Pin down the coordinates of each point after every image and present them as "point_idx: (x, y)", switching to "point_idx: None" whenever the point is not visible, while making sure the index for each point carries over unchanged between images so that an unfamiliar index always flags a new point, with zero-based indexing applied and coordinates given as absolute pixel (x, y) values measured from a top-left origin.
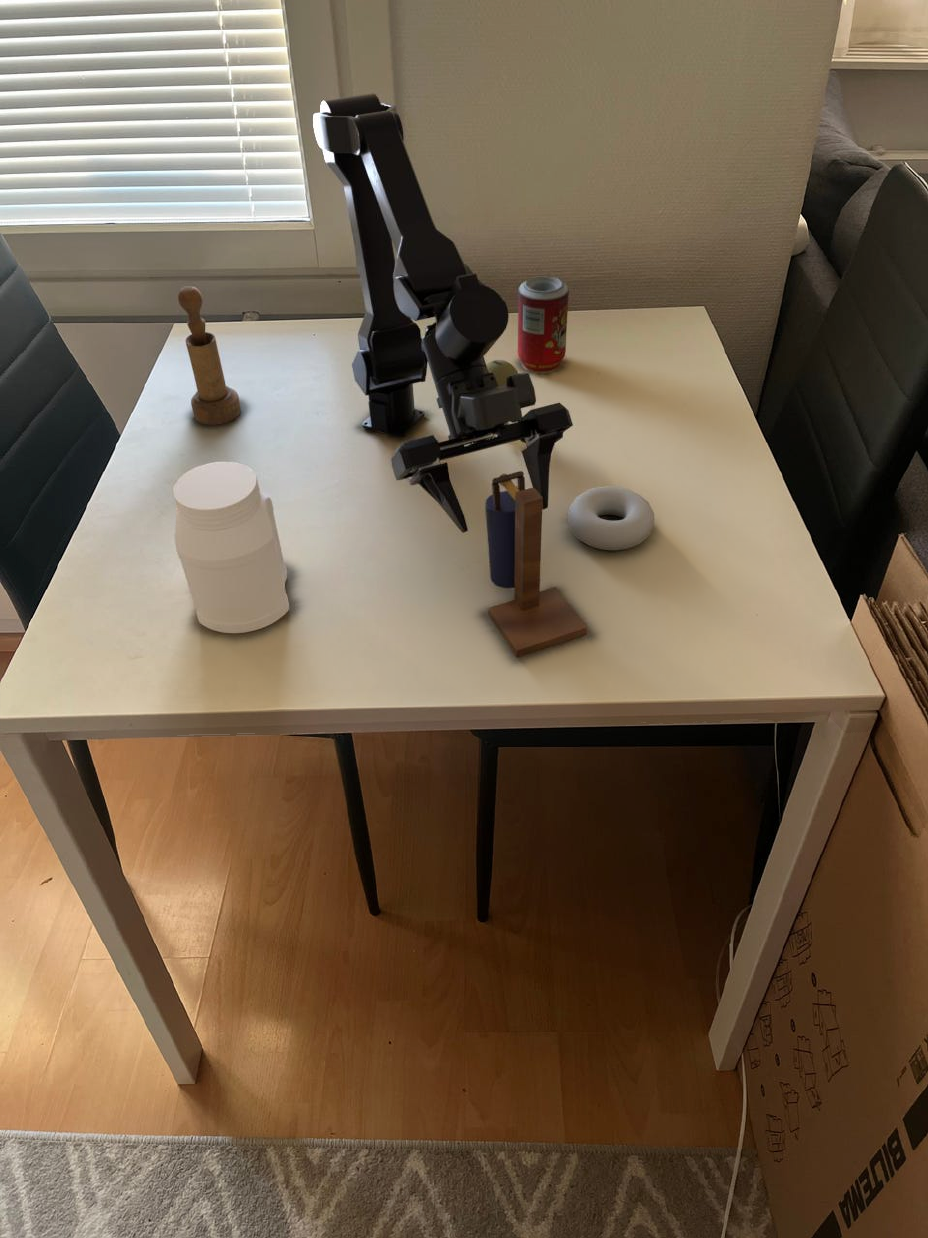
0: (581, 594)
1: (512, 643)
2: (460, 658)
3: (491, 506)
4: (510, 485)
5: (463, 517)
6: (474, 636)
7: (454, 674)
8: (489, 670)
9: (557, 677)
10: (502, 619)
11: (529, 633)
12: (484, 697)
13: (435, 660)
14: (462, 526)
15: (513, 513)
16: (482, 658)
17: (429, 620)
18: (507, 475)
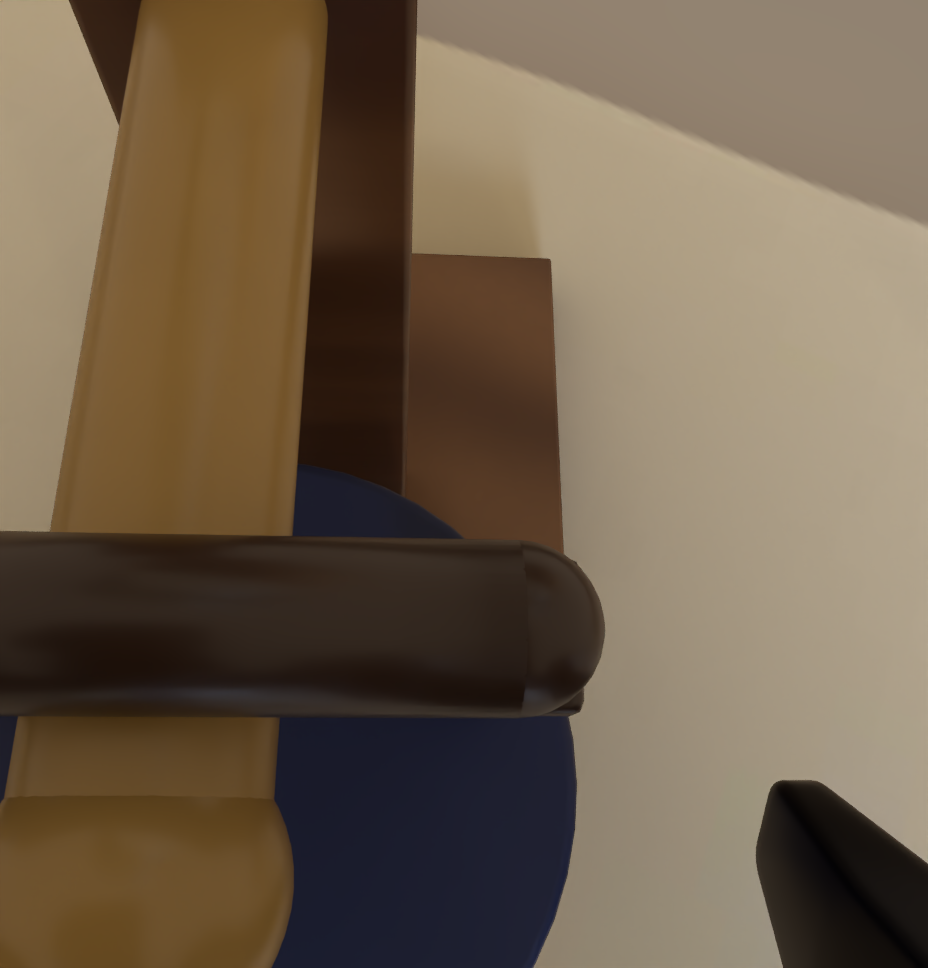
0: (24, 512)
1: (551, 302)
2: (782, 383)
3: (512, 755)
4: (199, 412)
5: (863, 874)
6: (677, 478)
7: (832, 315)
8: (682, 274)
9: (435, 135)
10: (529, 461)
11: (448, 319)
12: (748, 170)
13: (894, 419)
14: (851, 810)
15: (303, 464)
16: (688, 343)
17: (865, 683)
18: (97, 591)
